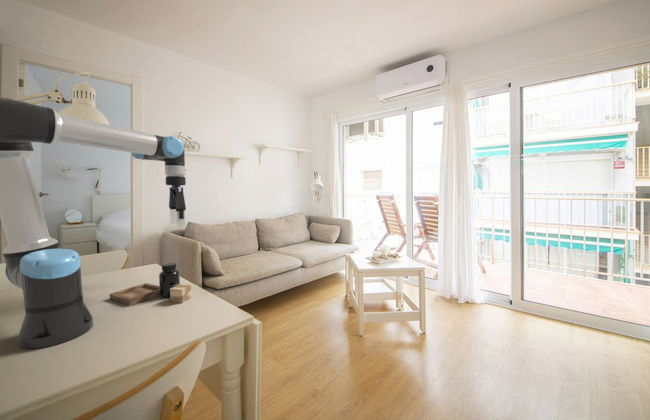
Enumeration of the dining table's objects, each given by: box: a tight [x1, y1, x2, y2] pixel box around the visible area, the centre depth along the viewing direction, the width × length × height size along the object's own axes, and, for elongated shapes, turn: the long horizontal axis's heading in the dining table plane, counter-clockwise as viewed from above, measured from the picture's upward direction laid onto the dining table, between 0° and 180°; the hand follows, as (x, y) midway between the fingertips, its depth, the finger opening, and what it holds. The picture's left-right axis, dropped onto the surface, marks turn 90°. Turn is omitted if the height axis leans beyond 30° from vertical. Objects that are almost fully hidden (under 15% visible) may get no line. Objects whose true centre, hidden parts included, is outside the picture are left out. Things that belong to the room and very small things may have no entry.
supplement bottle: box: [158, 262, 181, 299], centre depth 105 cm, size 7×7×12 cm
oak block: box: [170, 283, 193, 304], centre depth 101 cm, size 5×5×5 cm
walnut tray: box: [109, 282, 160, 307], centre depth 104 cm, size 13×13×2 cm
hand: (177, 225), depth 119 cm, fingers open, 13 cm apart
